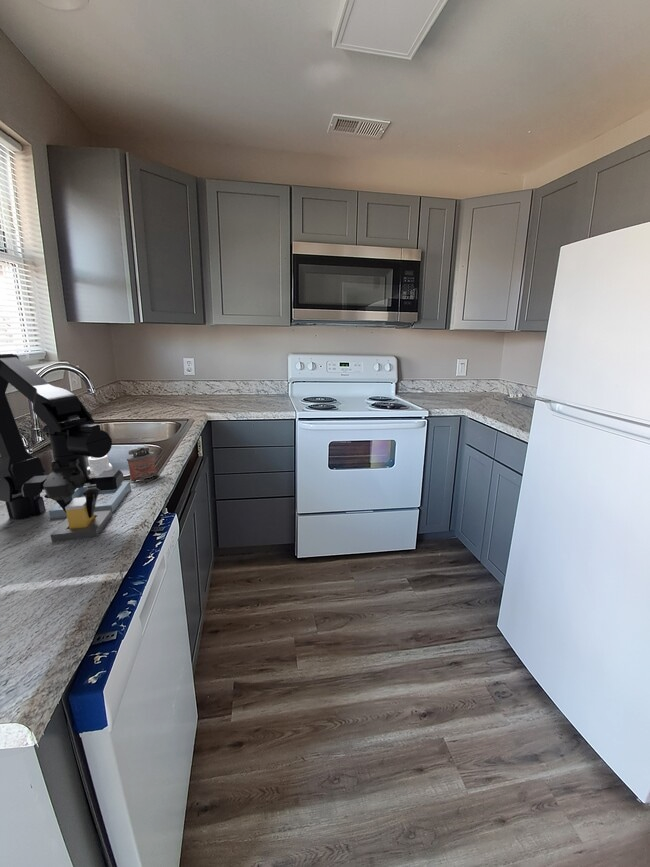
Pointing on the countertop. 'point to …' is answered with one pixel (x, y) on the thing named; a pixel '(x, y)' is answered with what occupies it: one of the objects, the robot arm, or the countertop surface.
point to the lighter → (141, 463)
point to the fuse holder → (77, 533)
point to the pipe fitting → (99, 465)
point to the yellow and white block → (78, 513)
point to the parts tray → (110, 505)
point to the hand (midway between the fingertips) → (81, 517)
